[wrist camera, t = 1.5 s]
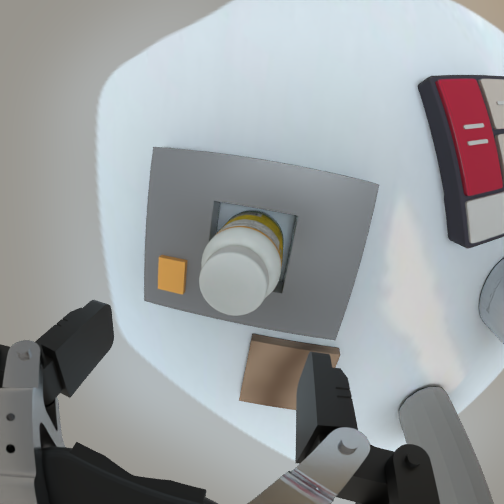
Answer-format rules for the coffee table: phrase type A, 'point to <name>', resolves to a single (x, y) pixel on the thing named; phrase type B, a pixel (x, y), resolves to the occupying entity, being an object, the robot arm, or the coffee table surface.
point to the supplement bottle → (242, 263)
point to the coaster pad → (277, 370)
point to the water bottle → (444, 446)
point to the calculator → (469, 152)
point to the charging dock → (263, 197)
